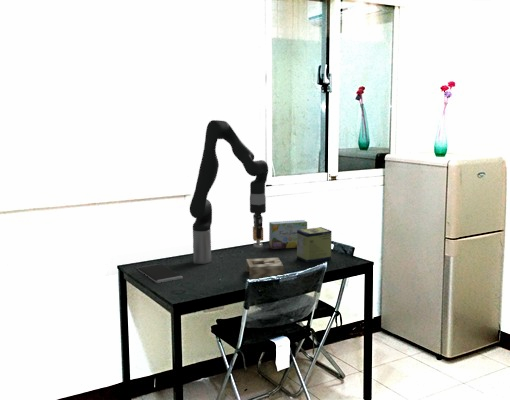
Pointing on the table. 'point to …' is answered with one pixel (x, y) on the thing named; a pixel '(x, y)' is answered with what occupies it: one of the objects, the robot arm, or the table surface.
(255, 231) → the keyhole peg
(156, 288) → the table surface
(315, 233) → the protein box
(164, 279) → the smartphone
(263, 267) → the shelf
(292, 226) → the snack box
